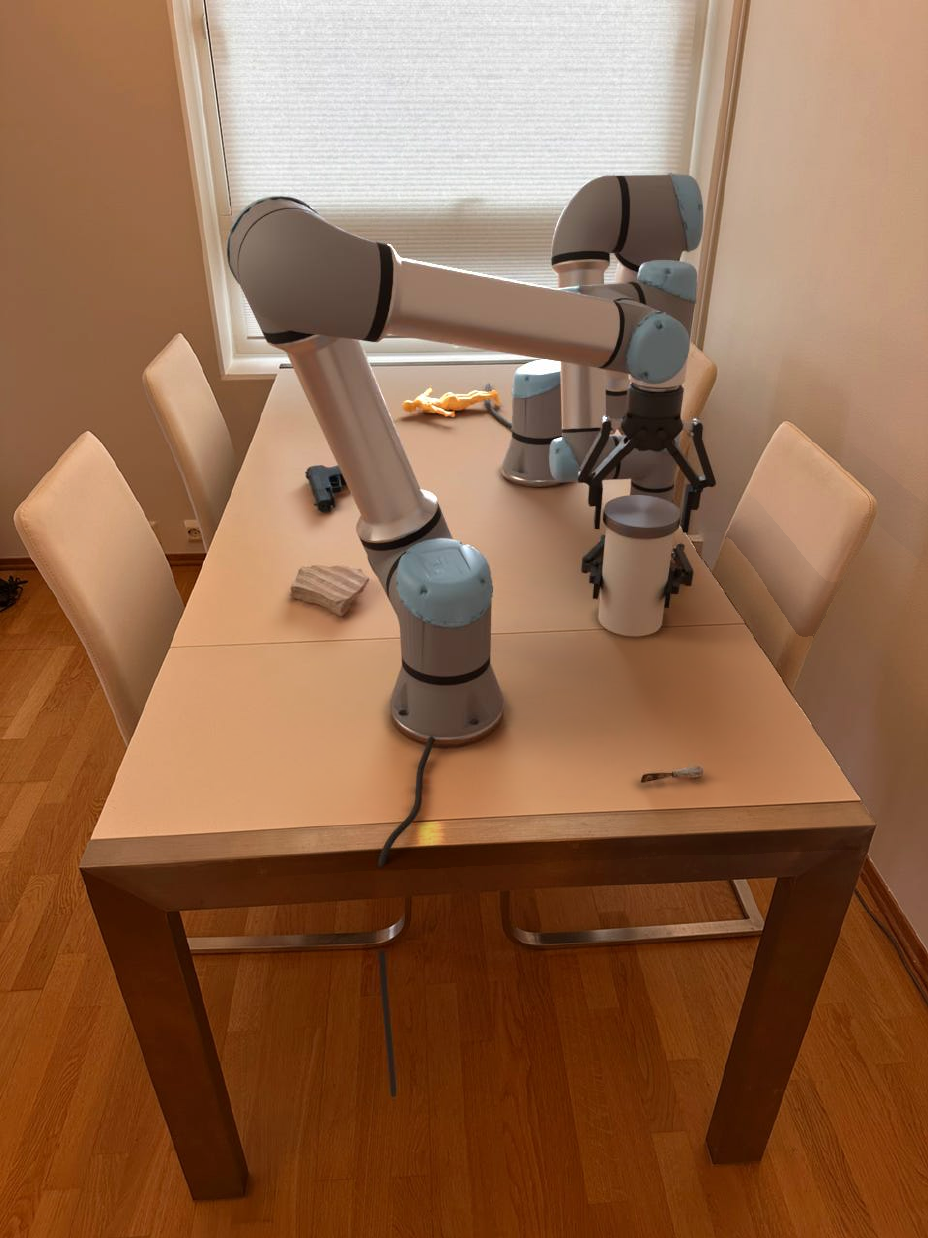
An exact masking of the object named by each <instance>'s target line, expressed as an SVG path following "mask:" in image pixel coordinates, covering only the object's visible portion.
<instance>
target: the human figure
mask: <svg viewBox="0 0 928 1238" xmlns="http://www.w3.org/2000/svg"><path fill="white" fill-rule="evenodd" d="M424 391H425V392H423V393H422V394H420V395H418V396H416V398H415V399H414V400H404V401H403V402H402V411H404V412H405V413H410V414H412V413H414V412H417V408H418V409H420V410H421V411H423V412H424V413H427V414H439V415H443V416H444V417H449V416H450V417H451V418H452V417H453V418H454V417H455V416H456V414H455V411H462V410H464V409H467V408H469V407H471V406H473V405H476V404H478V403H481V402H484V401H485V400H488V399H489V400H493V402H494V403H495V404H496V405H497V406H500V398H499V393H498V392H497V391H496V390H495V389H493V390H491V391H489V392H486V391H478V390H473V391H470V392H469V393H468V394H460V393H457V394H455V393H453V392H446V393H444V394H443V395H442V396H441V397H440V398H434V397H429V396H430V395H432V394H433V392H434V391H433V389H432V385H429V387H428V389H424ZM450 410H452V411H450Z"/></svg>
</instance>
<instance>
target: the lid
mask: <svg viewBox="0 0 928 1238" xmlns="http://www.w3.org/2000/svg"><path fill="white" fill-rule="evenodd" d="M602 509H603V511H602V523H603V524H604V526H605V528H606V527H607V528H609V529H610V530H612V531H614V532H616V533H618V534H621V535H624V536H628V537H634V538H660V537H664V536H668V535H670V534H672V533H674V534H675V533H676V532H677V531H678V530H679V528H680V526H681V519H682V511H681V509H680V508H679V507H678V506H677V505H676V504H675V503H674V502H673V503H671V502H669V501H667V500H664V499H661V498H657V497H652V496H645V495H630V494H629V495H622V496H617V497H615V498H612V499H610V500H608V501H607V502H606V503H605V504H604V506H603V508H602Z"/></svg>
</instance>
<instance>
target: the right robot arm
mask: <svg viewBox="0 0 928 1238" xmlns="http://www.w3.org/2000/svg"><path fill="white" fill-rule="evenodd" d="M703 230H704V202H703V196H702V191H701V188H700V186H699V183H698V182H697V180H696V179H695V178H694V177H693V176H692V175H689V174H680V173H679V174H678V173H672V172H668V173H667V174H631V175H630V174H629V175H628V174H626V175H625V174H624V175H623V174H621V175H619V174H618V175H616V174H605V175H600V176H597V177H594V178H592V179H591V180H589V181H587V182H585V183H584V184H583V185H582V186H580V187H579V188H578V190H576V191H575V192H574V194H573V195H572V196H571V197H570V198H569V200H568V201H567V203H566V205H565V206H564V208H563V210H562V212H561V213H560V216H559V218H558V220H557V223H556V225H555V229H554V231H553V232H554V233H553V237H552V239H551V248H550V249H551V250H550V269H551V270H552V272H553V273H554V274H555V275H556V276H557V289H560V288H567V287H573V286H576V285H580V286H585V285H600V284H605V272H606V270H608V269H609V267H610V266H611V254H613V256H614V258H615V260H616V261H617V266H616V270H615V275H614V278H613V283H612V284H615V283H627V282H632V281H637V276H638V272H639V268H640V266H641V265H642V264H643V263H645V262H650V261H654V260H673V261H680V260H681V257H682V255H683V253H684V252H686V253H690V252H693V251H695V250H697V249H698V247H699V246H700V243H701V240H702V237H703ZM630 383H631V381H630V380H629V374H626V373H622V372H616V371H610V370H604V369H600V368H595V367H589V366H583V365H577V364H571V363H565V362H558V361H552V360H546V359H537V360H533V361H530V362H527V363H525V364H523V365H521V366H519V368H517V369H516V371H515V372H514V375H513V380H512V389H511V397H512V398H511V399H512V400H511V401H512V402H511V403H512V404H511V407H512V408H511V422H509V421H508V420H506V419H505V418H504V417H503V416H501V415H500V414H499V413H497V411H496V410H495V409H494V408H493V407H492V405H491V401H490V399H488V400H485V405H486V407H487V409H488V411H490V413H491V414H492V415H493V416H494V417H495V418H496V419H498V420H499V422H501V423H503V424H504V425H505V426H507V427H508V428H510V429H511V439H510V441H509V444H508V447H507V450H506V452H505V455H504V458H503V461H502V465H501V467H502V468H501V473H502V476H503V477H504V478H505V479H506V480H508V481H509V482H510V483H513V484H516V485H519V486H524V487H531V488H532V487H533V488H549V487H556V486H560V485H563V484H565V483H579V484H581V483H580V482H579V481H578V470H579V468H580V466H581V465H582V463H583V461H584V459H585V457H586V455H587V454H588V452H589V450H590V448H591V446H592V444H593V443H594V441H595V439H596V437H597V435H598V433H599V432H600V429H601V422H602V417H603V416H605V415H608V416H610V418H614V419H622V418H623V417H624V415H625V411H626V401H627V390H628V385H629V384H630ZM485 386H486V387H485V392H490V388H491V384H490V383H489V382H488V383H486V385H485ZM625 436H626V435H625V434H620V435H610V436H609V439H608V441H607V443H606V445H605V447H604V449H603V451H602V452H601V454H600V456H599V458H598V460H597V461H596V463H595V465H594V467H593V469H592V470H591V472H590V473H593V472H594V470H595V469H596V468H597V467H598V466H599V465H600V464H601V463H602V462H603V461H604V460H605V459H606V458H607V456H608V455H609V454H610V453H611V452H612V451H613V450H614V449H615V448H616V447H617V446H618V445H619V443H620V441H621V440H622V439H623V438H624V437H625ZM674 440H675V441H676V443H677V445H678V447H679V448H680V441H681V432H680V433H679V434H678V436H677V437H676V438H675V439H674ZM677 467H678V464H677V463H676V462H675V460H674V459H673V457H672V456H671V455H670V453H669V452H668V451H667V449H666V448H665V449H663V450H661V452H657V451H652V450H647V451H638V449H636V448H634V449H633V450H632V451H631V452H630V453H629V454H628V455H626V456H625V457H624V458H623V459H622V460H621V462H620V463H619V464H618V465H617V466H616V467H615V468H614V469H613V470H612V471H611V472H610V473H609V474H608V475H607V476H606V477H605V479H604V480H603V481H611V480H612V481H615V480H616V481H617V480H630V489H629V490H630V491H629V495H645V496H652V497H657V498H661V499H664V500H667V501H669V502H671V503H673V504H674V492H675V491H674V490H675V479H676V472H677ZM605 535H606V534H601V535H600V538H599V541H598V542H597V543H596V544H595V545H593V547H592V548H591V549H589V551H587V552H586V553H585V554H584V555H583V556H582V557H581V568H580V573H582V574H588V573H589V576H588V584H591V585H593V589H592V600H598V599H599V597H600V592H601V580H602V569H603V558H604V546H605ZM685 547H686V546H685V544H684V543H677V544H676V546H672V552H671V560H670V567H669V575H668V582H667V589H666V596H665V603H664V609H670V605H671V598H672V595H679V594H680V590H681V589H680V588H681V585H683V586H685V587H691V586H693V580H694V573H695V571H694V569H693V567H692V566H693V565H691V562H690V560H689V559H688V557H687V554H686V553H685Z"/></svg>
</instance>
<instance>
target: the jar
mask: <svg viewBox="0 0 928 1238" xmlns="http://www.w3.org/2000/svg"><path fill="white" fill-rule="evenodd" d="M604 535H605V546H604V558H603V569H602V580H601V588H600V592H599V604H598V615H597V616H598V618H597V619H598V622H599V623H600V625H601V626H602V627H603V628H604V629H605V630H607V631H609V632H611V633H612V634H613V633H614V634H617V635H619V636H624V637H645V636H646V637H647V636H649V635H652V634H654V633H656V632H657V631H659V630H660V628H662V625H663V619H664V612H665V608H664V603H665V596H666V589H667V582H668V575H669V567H670V560H671V561H672V557H671V552H672V547H673V543H674V536H675V532H674V533H672V534H670V535H668V536H664V537H660V538H634V537H628V536H624V535H621V534H618V533H616V532H614V531H612V530H610V529H609V528H607V527H606V526H605V534H604Z"/></svg>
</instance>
